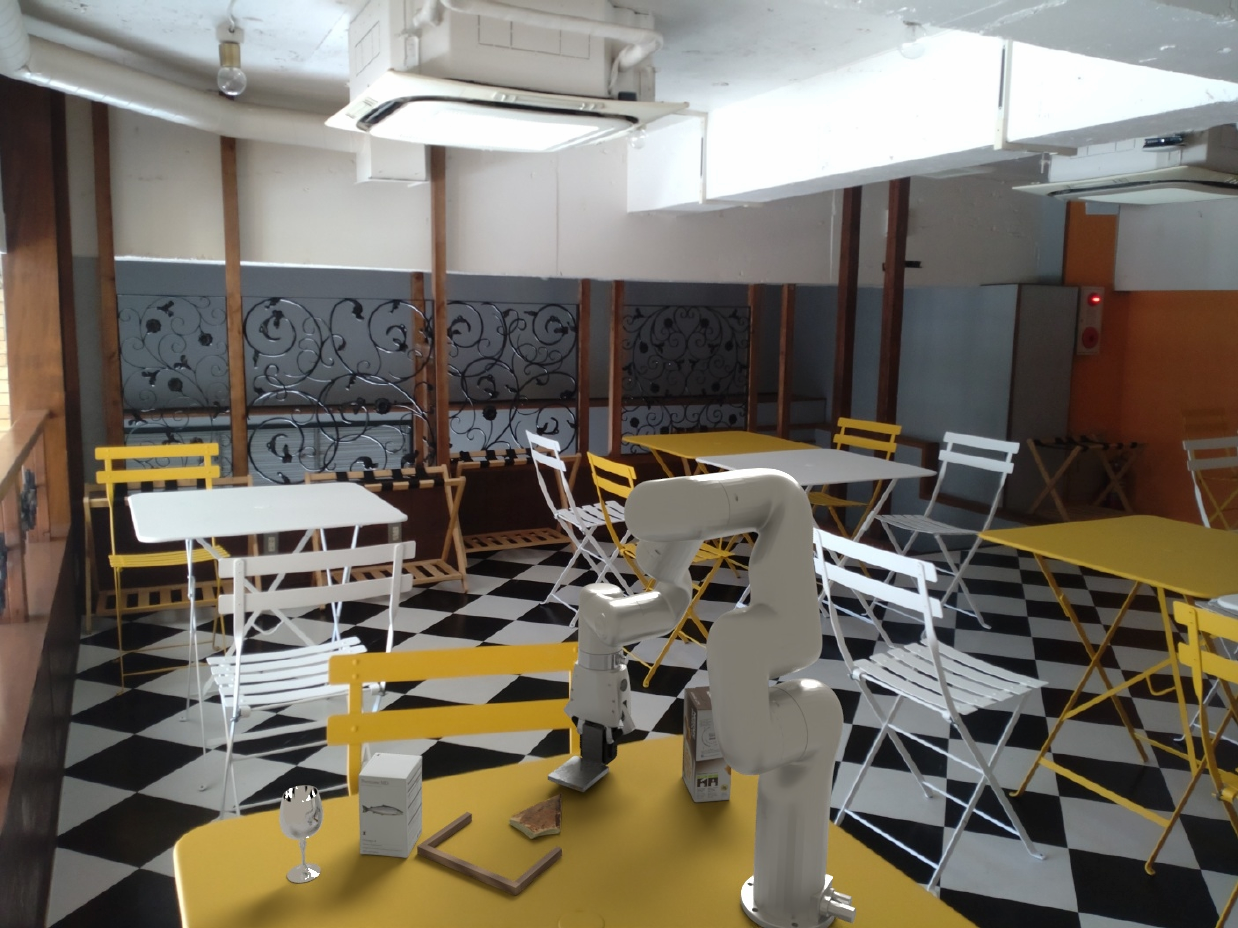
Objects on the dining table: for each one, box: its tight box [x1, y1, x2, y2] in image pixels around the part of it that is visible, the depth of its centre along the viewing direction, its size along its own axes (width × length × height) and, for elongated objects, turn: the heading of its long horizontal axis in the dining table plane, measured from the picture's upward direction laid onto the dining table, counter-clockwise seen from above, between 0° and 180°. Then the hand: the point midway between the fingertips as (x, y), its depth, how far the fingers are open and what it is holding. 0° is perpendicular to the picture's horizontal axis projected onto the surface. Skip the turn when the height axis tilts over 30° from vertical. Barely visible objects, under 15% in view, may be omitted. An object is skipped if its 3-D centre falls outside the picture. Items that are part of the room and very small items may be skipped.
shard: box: [508, 792, 563, 840], centre depth 143 cm, size 11×8×2 cm
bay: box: [416, 811, 563, 897], centre depth 134 cm, size 18×11×1 cm, turn 59°
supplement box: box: [358, 752, 423, 859], centre depth 136 cm, size 7×7×13 cm
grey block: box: [547, 721, 610, 793], centre depth 155 cm, size 12×7×7 cm, turn 149°
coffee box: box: [681, 685, 732, 803], centre depth 153 cm, size 9×6×16 cm
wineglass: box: [278, 784, 324, 884], centre depth 128 cm, size 6×6×12 cm
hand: (598, 756), depth 159 cm, fingers closed on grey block, 4 cm apart
